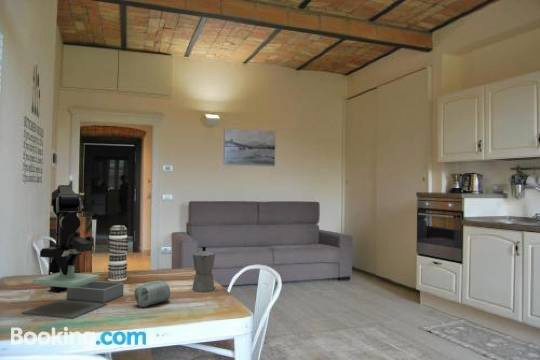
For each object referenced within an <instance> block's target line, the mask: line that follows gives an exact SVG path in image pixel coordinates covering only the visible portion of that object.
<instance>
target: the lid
mask: <svg viewBox="0 0 540 360" xmlns="http://www.w3.org/2000/svg"><path fill="white" fill-rule="evenodd" d="M75 267H76V265H74V266H72V265H68V271H67V275H63V273H62V271H61V269H60V273H56V274H52V275H48V274H47V275H44V276H40V277H37V278H32V283H37V284H39V286H45V287H50V286H56V287H68V288H75V287H78V286H81V285H85V284H88V283H91V282H93V281H95V280H96V279H100V275H99V274H90V273H75Z"/></svg>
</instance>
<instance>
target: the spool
mask: <svg viewBox="0 0 540 360" xmlns="http://www.w3.org/2000/svg"><path fill="white" fill-rule="evenodd" d="M170 299H171V288H170V286H169V284H168V283H167V282H166V281H164V280H154V281H149V282H146V283H143V284H139V285H138V286H136V288H135V289H134V300H135V302H136V304H137V305H138V307H140V308H146V307H148V306H151V305H155V304H156V305H157V304H160V303H164V302H167V301H169V300H170Z"/></svg>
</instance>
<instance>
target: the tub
mask: <svg viewBox="0 0 540 360" xmlns="http://www.w3.org/2000/svg"><path fill="white" fill-rule="evenodd" d="M124 286H125V285H124V283H123V282H116V281H103V280H102V281H101V280H99V281H98V280H93V282H91V283H88V284H85V285H81V286H78V287H75V288H68V287H67V291H66V300H69V301H80V302H91V303H102V304H107V303H109V302H112V301H115V300H117V299H120V298H122V297H124Z"/></svg>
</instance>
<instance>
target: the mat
mask: <svg viewBox="0 0 540 360" xmlns="http://www.w3.org/2000/svg"><path fill="white" fill-rule="evenodd" d="M107 305H108V304H107V303H104V304H102V303H91V302H80V301H69V300H67V299H58V300H55V301H53V302H50V303H49V302H48V303H46V304H44V305H40V306H37V307H34V308H31V309H28V310H25V311H22V312H21V314H23V315H30V316H31V315H32V316H33V315H34V316H41V317H52V318H60V319H71V320H73V319H77V318H78V317H80V316H83V315H86V314H88V313H90V312H93V311H95V310H97V309H100V308H102V307H105V306H107Z"/></svg>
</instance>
